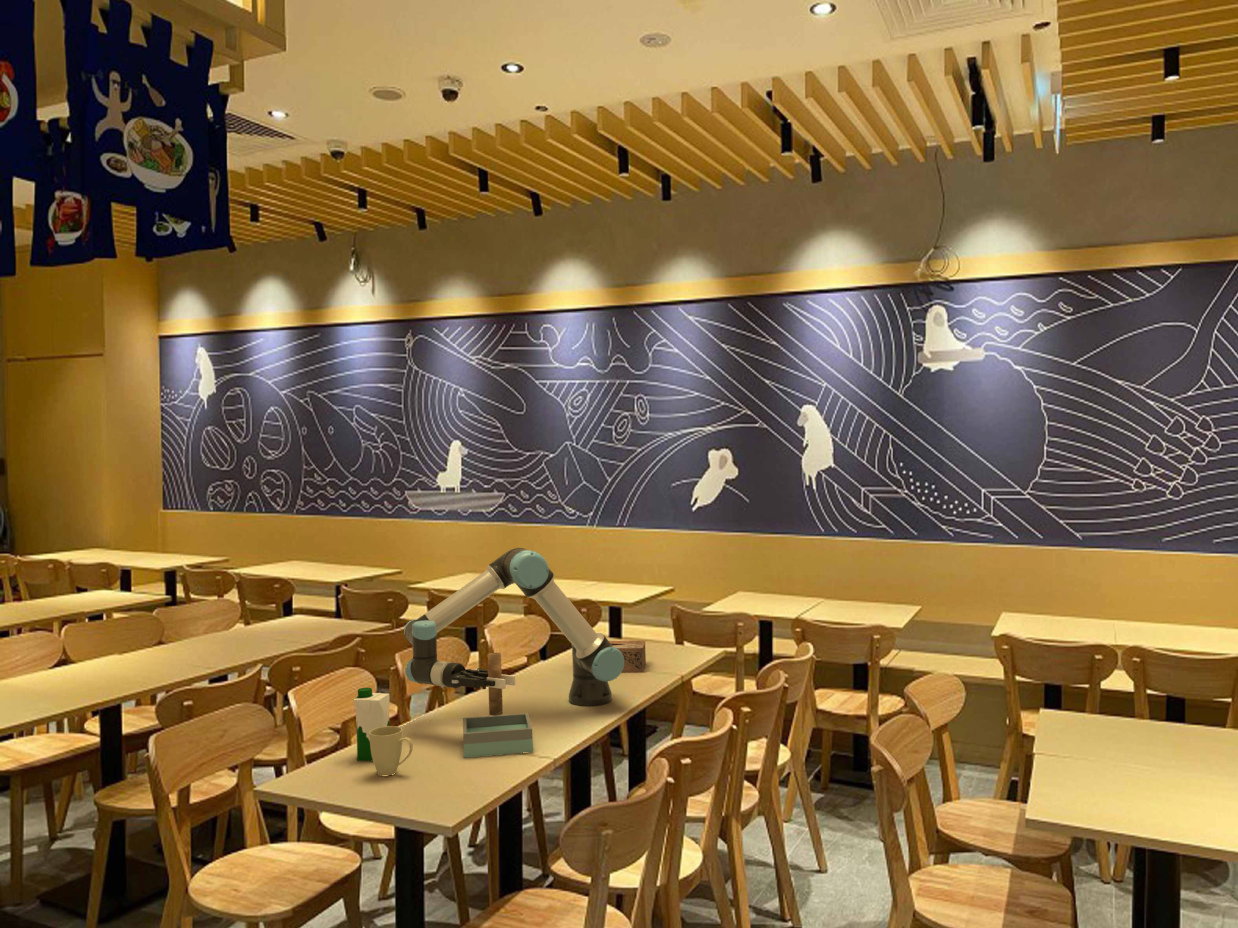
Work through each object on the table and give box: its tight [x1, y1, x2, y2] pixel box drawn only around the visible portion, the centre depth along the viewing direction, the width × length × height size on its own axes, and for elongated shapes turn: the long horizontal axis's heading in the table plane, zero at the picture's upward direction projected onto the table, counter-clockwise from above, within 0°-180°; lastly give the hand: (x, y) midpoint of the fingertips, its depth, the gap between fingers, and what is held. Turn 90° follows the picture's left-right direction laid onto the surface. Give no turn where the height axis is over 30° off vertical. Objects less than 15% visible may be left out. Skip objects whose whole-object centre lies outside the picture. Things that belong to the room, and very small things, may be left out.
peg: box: [487, 652, 504, 716], centre depth 288 cm, size 4×4×18 cm
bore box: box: [462, 712, 534, 759], centre depth 288 cm, size 20×17×7 cm
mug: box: [369, 725, 414, 776], centre depth 266 cm, size 11×10×12 cm
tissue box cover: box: [608, 639, 647, 674], centre depth 384 cm, size 26×14×10 cm, turn 85°
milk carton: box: [353, 687, 390, 762], centre depth 281 cm, size 9×9×20 cm
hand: (509, 682), depth 285 cm, fingers closed on peg, 4 cm apart
